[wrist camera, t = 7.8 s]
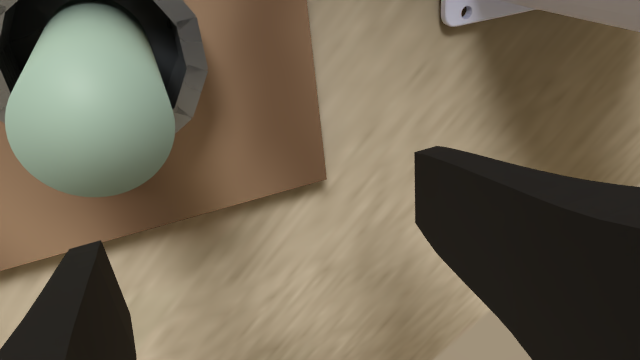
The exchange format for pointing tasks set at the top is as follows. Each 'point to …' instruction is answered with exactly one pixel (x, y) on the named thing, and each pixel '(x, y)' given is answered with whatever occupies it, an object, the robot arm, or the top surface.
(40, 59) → the peg
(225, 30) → the cup bracket
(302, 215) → the top surface
